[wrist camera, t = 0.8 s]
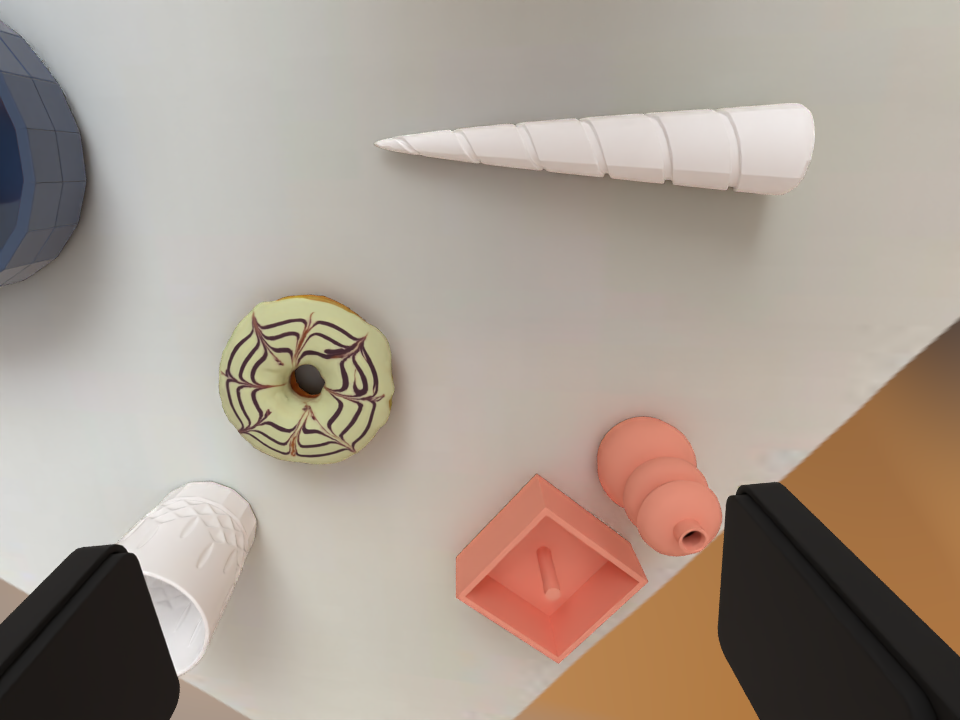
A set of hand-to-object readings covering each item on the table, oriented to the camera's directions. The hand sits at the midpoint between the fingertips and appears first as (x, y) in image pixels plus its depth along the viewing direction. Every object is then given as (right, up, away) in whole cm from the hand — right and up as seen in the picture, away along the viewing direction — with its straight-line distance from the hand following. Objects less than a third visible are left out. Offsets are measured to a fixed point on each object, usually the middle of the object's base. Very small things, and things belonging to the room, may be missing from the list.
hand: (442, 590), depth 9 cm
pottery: (+8, -7, +33) cm, 34 cm away
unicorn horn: (+7, +16, +25) cm, 30 cm away
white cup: (-19, -8, +32) cm, 38 cm away
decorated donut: (-10, +3, +28) cm, 30 cm away
